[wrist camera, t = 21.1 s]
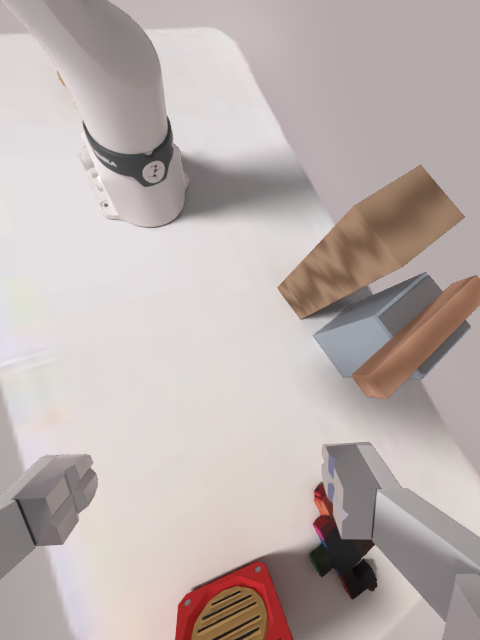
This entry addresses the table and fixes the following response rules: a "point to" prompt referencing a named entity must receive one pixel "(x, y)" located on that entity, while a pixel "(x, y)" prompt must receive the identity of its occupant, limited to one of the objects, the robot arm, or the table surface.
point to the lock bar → (418, 339)
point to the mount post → (371, 241)
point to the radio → (234, 609)
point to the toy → (341, 551)
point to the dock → (382, 326)
